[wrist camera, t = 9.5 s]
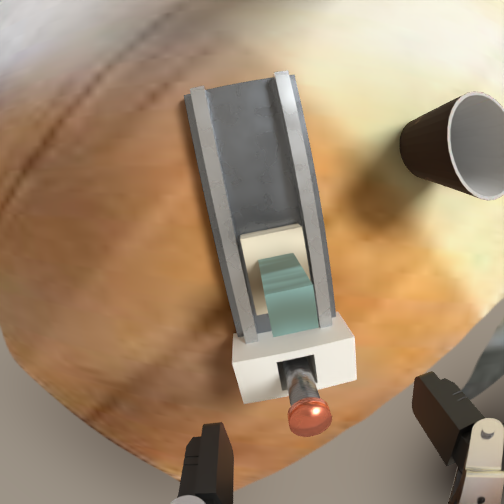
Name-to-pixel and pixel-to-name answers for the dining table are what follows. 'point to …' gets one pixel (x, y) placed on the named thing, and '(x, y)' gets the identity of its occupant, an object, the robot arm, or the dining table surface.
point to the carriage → (281, 278)
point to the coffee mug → (459, 145)
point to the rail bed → (258, 184)
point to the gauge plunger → (304, 400)
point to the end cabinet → (290, 347)
